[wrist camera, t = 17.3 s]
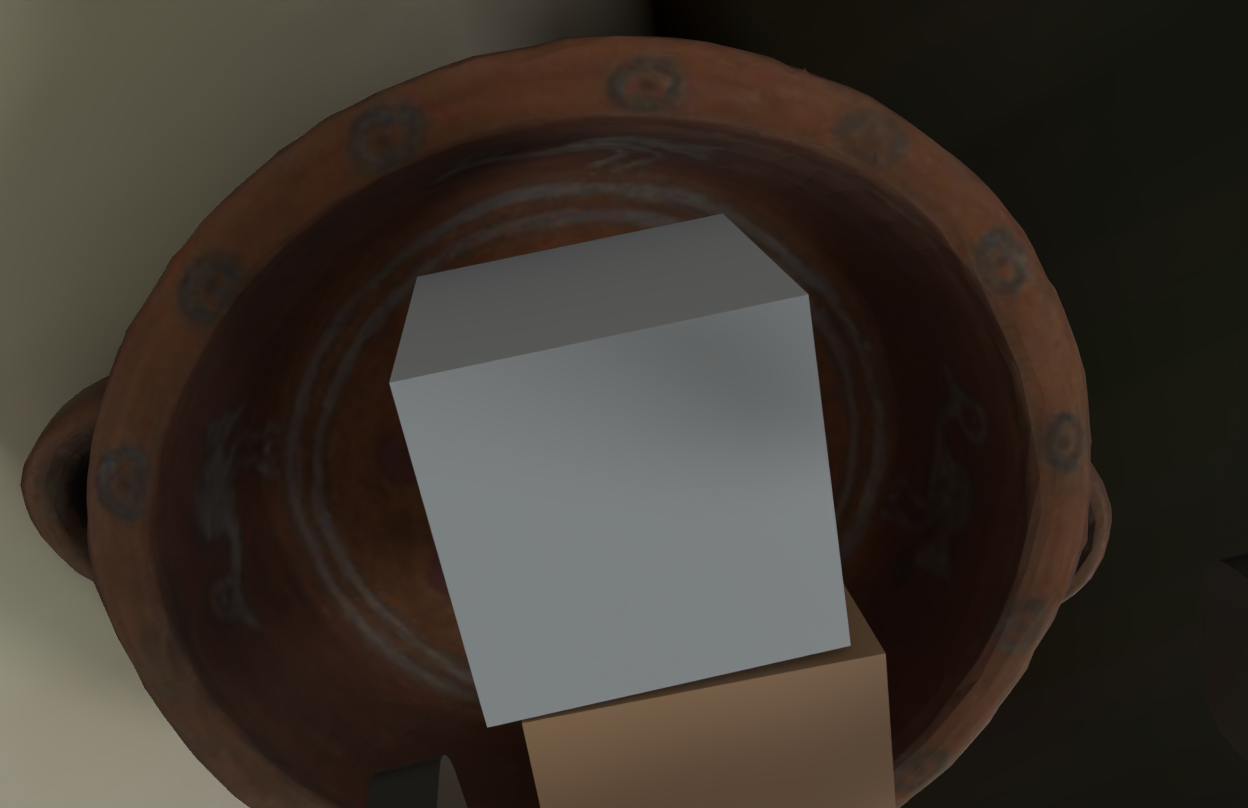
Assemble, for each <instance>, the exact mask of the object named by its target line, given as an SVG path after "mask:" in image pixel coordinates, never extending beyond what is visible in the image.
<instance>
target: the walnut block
mask: <svg viewBox="0 0 1248 808" xmlns="http://www.w3.org/2000/svg"><path fill="white" fill-rule="evenodd" d="M843 585H844V583H843ZM844 593H845V602H846V610H847V618H848V627H849V635H850V643H851V646H847V647H843V648H838V649H834V650H829V651H825V652H821V653H816V654H812V655H807V656H803V657H798V658H794V659H790V660H785V661H781V662H776V663H772V664H767V665H763V666H758V667H754V668H750V669H745V670H741V671H736V672H732V673H727V674H723V675H719V676H714V677H710V678H705V679H701V680H696V681H692V682H688V683H683V684H679V685H674V686H670V687H665V688H661V689H656V690H652V691H648V692H643V693H639V694H634V695H630V696H625V697H621V698H617V699H612V700H608V701H603V702H599V703H594V704H590V705H585V706H581V707H577V708H572V709H568V710H563V711H559V712H554V713H550V714H546V715H541V716H537V717H532V718H528V719H523V720H522V726H523V730H524V735H525V740H526V744H527V749H528V753H529V758H530V762H531V767H532V771H533V776H534V781H535V785H536V790H537V794H538V799H539V803H540V808H896V803H895V788H894V772H893V757H892V742H891V727H890V712H889V696H888V681H887V666H886V653H885V651H884V650H883V648H882V646H881V645H880V643H879V641H878V640H877V638H876V637H875V635H874V633H873V632H872V630H871V628H870V627H869V625H868V623H867V622H866V620H865V618H864V617H863V615H862V613H861V612H860V610H859V608H858V607H857V605H856V603H855V602H854V600H853V598H852V597H851V595H850V593H849V592H848V590H847V588H846V587H845V585H844Z"/></svg>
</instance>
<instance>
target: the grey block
mask: <svg viewBox="0 0 1248 808" xmlns="http://www.w3.org/2000/svg"><path fill="white" fill-rule="evenodd" d="M389 384H390V387H391V391H392V394H393V398H394V401H395V405H396V408H397V412H398V415H399V419H400V422H401V426H402V430H403V433H404V437H405V440H406V444H407V447H408V451H409V454H410V458H411V461H412V465H413V468H414V472H415V475H416V479H417V482H418V486H419V489H420V493H421V496H422V500H423V503H424V507H425V510H426V514H427V517H428V521H429V525H430V528H431V532H432V535H433V539H434V542H435V546H436V549H437V553H438V556H439V560H440V563H441V567H442V570H443V574H444V577H445V581H446V584H447V588H448V591H449V595H450V598H451V602H452V605H453V609H454V612H455V616H456V620H457V623H458V627H459V630H460V634H461V637H462V641H463V644H464V648H465V651H466V655H467V658H468V662H469V665H470V669H471V672H472V676H473V679H474V683H475V686H476V690H477V693H478V697H479V700H480V704H481V707H482V711H483V715H484V718H485V722H486V725H487V728H488V727H492V726H497V725H501V724H506V723H510V722H514V721H519V720H523V719H528V718H532V717H537V716H541V715H546V714H550V713H554V712H559V711H563V710H568V709H572V708H577V707H581V706H585V705H590V704H594V703H599V702H603V701H608V700H612V699H617V698H621V697H625V696H630V695H634V694H639V693H643V692H648V691H652V690H656V689H661V688H665V687H670V686H674V685H679V684H683V683H688V682H692V681H696V680H701V679H705V678H710V677H714V676H719V675H723V674H727V673H732V672H736V671H741V670H745V669H750V668H754V667H758V666H763V665H767V664H772V663H776V662H781V661H785V660H790V659H794V658H798V657H803V656H807V655H812V654H816V653H821V652H825V651H829V650H834V649H838V648H843V647H847V646H851V643H850V635H849V627H848V618H847V610H846V602H845V593H844V585H843V577H842V569H841V560H840V552H839V544H838V535H837V527H836V519H835V511H834V502H833V494H832V486H831V477H830V469H829V461H828V453H827V444H826V436H825V428H824V419H823V411H822V403H821V395H820V386H819V378H818V370H817V361H816V353H815V345H814V337H813V328H812V320H811V312H810V304H809V295H808V294H807V293H806V292H805V291H804V290H803V289H802V288H801V287H800V286H799V285H798V284H797V283H796V282H795V281H794V280H793V279H792V278H790V277H789V276H788V275H787V274H786V273H785V272H784V271H783V270H782V269H781V268H780V267H779V266H778V265H777V264H776V263H775V262H774V261H773V260H771V259H770V258H769V257H768V256H767V255H766V254H765V253H764V252H763V251H762V250H761V249H760V248H759V247H758V246H757V245H756V244H755V243H753V242H752V241H751V240H750V239H749V238H748V237H747V236H746V235H745V234H744V233H743V232H742V231H741V230H740V229H739V228H738V227H737V226H735V225H734V224H733V223H732V222H731V221H730V220H729V219H728V218H727V217H726V216H725V215H724V214H718V215H713V216H708V217H704V218H699V219H694V220H689V221H684V222H680V223H675V224H670V225H665V226H660V227H655V228H651V229H646V230H641V231H636V232H631V233H626V234H622V235H617V236H612V237H607V238H602V239H597V240H593V241H588V242H583V243H578V244H573V245H568V246H564V247H559V248H554V249H549V250H544V251H539V252H535V253H530V254H525V255H520V256H515V257H510V258H506V259H501V260H496V261H491V262H486V263H481V264H477V265H472V266H467V267H462V268H457V269H452V270H448V271H443V272H438V273H433V274H428V275H424V276H419V277H417V279H416V283H415V287H414V291H413V295H412V298H411V302H410V306H409V310H408V314H407V317H406V321H405V325H404V329H403V333H402V336H401V340H400V344H399V348H398V352H397V355H396V359H395V363H394V367H393V371H392V374H391V378H390V382H389Z"/></svg>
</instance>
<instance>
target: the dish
mask: <svg viewBox="0 0 1248 808" xmlns="http://www.w3.org/2000/svg"><path fill="white" fill-rule="evenodd" d="M718 214H724V215H725V216H726V217H727V218H728V219H729V220H730V221H731V222H732V223H733V224H734V225H735V226H737V227H738V228H739V229H740V230H741V231H742V232H743V233H744V234H745V235H746V236H747V237H748V238H749V239H750V240H751V241H752V242H753V243H755V244H756V245H757V246H758V247H759V248H760V249H761V250H762V251H763V252H764V253H765V254H766V255H767V256H768V257H769V258H770V259H771V260H773V261H774V262H775V263H776V264H777V265H778V266H779V267H780V268H781V269H782V270H783V271H784V272H785V273H786V274H787V275H788V276H789V277H790V278H792V279H793V280H794V281H795V282H796V283H797V284H798V285H799V286H800V287H801V288H802V289H803V290H804V291H805V292H806V293H807V294H808V295H809V304H810V312H811V320H812V328H813V337H814V345H815V353H816V361H817V370H818V378H819V386H820V395H821V403H822V411H823V419H824V428H825V436H826V444H827V453H828V461H829V469H830V477H831V486H832V494H833V502H834V511H835V519H836V527H837V535H838V544H839V552H840V560H841V569H842V577H843V583H844V585H845V587H846V588H847V590H848V592H849V593H850V595H851V597H852V598H853V600H854V602H855V603H856V605H857V607H858V608H859V610H860V612H861V613H862V615H863V617H864V618H865V620H866V622H867V623H868V625H869V627H870V628H871V630H872V632H873V633H874V635H875V637H876V638H877V640H878V641H879V643H880V645H881V646H882V648H883V650H884V651H885V653H886V666H887V681H888V696H889V712H890V727H891V742H892V757H893V772H894V788H895V803H896V808H900V807H901V806H902V805H904V804H905V803H906V802H907V801H908V800H909V799H910V798H912V797H913V796H914V795H915V794H917V793H918V792H919V791H921V790H922V789H923V788H924V787H926V786H927V785H928V784H929V783H931V782H932V781H933V780H934V779H936V778H937V777H938V776H939V775H940V774H942V773H943V772H944V771H945V770H947V769H948V768H949V767H950V766H951V765H952V764H953V763H954V762H955V761H956V760H957V758H958V757H959V756H960V755H961V754H962V753H963V752H964V750H965V749H966V748H967V747H968V746H969V745H970V744H971V743H972V742H973V740H974V739H975V738H976V737H977V736H978V735H979V734H980V732H981V731H982V730H983V729H984V728H985V726H986V725H987V724H988V723H989V722H990V720H991V719H992V717H993V716H994V714H995V713H996V711H997V709H998V708H999V706H1000V705H1001V704H1002V702H1003V701H1004V700H1005V698H1006V697H1007V696H1008V694H1009V693H1010V692H1011V690H1012V689H1013V687H1014V686H1015V685H1016V683H1017V682H1018V681H1019V679H1020V678H1021V677H1022V675H1023V674H1024V672H1025V671H1026V670H1027V668H1028V665H1029V663H1030V660H1031V658H1032V655H1033V653H1034V650H1035V649H1036V647H1037V646H1038V644H1039V643H1040V641H1041V639H1042V638H1043V636H1044V635H1045V633H1046V632H1047V630H1048V629H1049V627H1050V626H1051V624H1052V622H1053V621H1054V619H1055V617H1056V614H1057V611H1058V608H1059V606H1060V604H1061V603H1063V602H1064V601H1066V600H1067V599H1069V598H1070V597H1072V596H1073V595H1074V594H1076V593H1077V592H1078V591H1079V590H1080V589H1081V588H1082V587H1083V586H1084V585H1085V584H1086V583H1087V582H1088V581H1089V580H1090V579H1091V578H1092V576H1093V575H1094V573H1095V571H1096V569H1097V568H1098V566H1099V564H1100V562H1101V560H1102V559H1103V557H1104V553H1105V549H1106V546H1107V542H1108V539H1109V533H1110V528H1111V522H1112V515H1111V505H1110V502H1109V499H1108V495H1107V492H1106V489H1105V486H1104V483H1103V481H1102V480H1101V478H1100V476H1099V475H1098V473H1097V471H1096V470H1095V468H1094V466H1093V465H1092V463H1091V462H1090V447H1091V444H1092V441H1091V433H1090V422H1089V408H1088V395H1087V386H1086V377H1085V371H1084V368H1083V364H1082V361H1081V358H1080V354H1079V351H1078V347H1077V344H1076V341H1075V338H1074V336H1073V333H1072V330H1071V328H1070V325H1069V322H1068V319H1067V317H1066V314H1065V311H1064V309H1063V306H1062V304H1061V302H1060V299H1059V297H1058V294H1057V292H1056V290H1055V288H1054V286H1053V285H1052V284H1051V283H1050V281H1049V280H1048V278H1047V276H1046V274H1045V272H1044V270H1043V268H1042V266H1041V263H1040V261H1039V259H1038V257H1037V255H1036V253H1035V251H1034V248H1033V246H1032V245H1031V243H1030V241H1029V239H1028V237H1027V236H1026V234H1025V232H1024V230H1023V229H1022V228H1021V226H1020V225H1019V224H1018V223H1017V221H1016V220H1015V219H1014V218H1013V217H1012V215H1011V214H1010V213H1009V211H1008V210H1007V209H1006V208H1005V206H1004V205H1003V204H1002V202H1001V201H1000V200H999V198H998V197H997V196H996V195H995V194H994V193H993V192H992V191H991V190H990V189H989V187H988V186H987V185H986V184H985V183H984V182H983V181H982V180H981V179H980V178H979V177H978V176H977V175H976V174H975V173H973V172H972V171H971V170H970V169H969V168H968V167H967V166H965V165H964V164H963V163H962V162H961V161H960V160H958V159H957V158H956V157H955V156H953V155H952V154H950V153H949V152H948V151H946V150H945V149H943V148H942V147H941V146H940V145H938V144H937V143H936V142H934V141H933V140H932V139H931V138H929V137H928V136H927V135H925V134H924V133H923V132H921V131H920V130H919V129H917V128H916V127H915V126H913V125H912V124H911V123H909V122H908V121H907V120H905V119H904V118H903V117H901V116H899V115H898V114H896V113H895V112H893V111H892V110H890V109H889V108H887V107H886V106H884V105H883V104H881V103H880V102H878V101H876V100H875V99H873V98H872V97H870V96H869V95H867V94H864V93H862V92H860V91H857V90H855V89H853V88H851V87H848V86H845V85H842V84H839V83H837V82H834V81H831V80H828V79H825V78H822V77H820V76H817V75H814V74H812V73H809V72H808V71H807V70H806V69H805V68H796V67H793V66H789V65H787V64H785V63H782V62H780V61H778V60H776V59H774V58H772V57H768V56H764V55H760V54H756V53H752V52H748V51H744V50H740V49H735V48H731V47H727V46H723V45H718V44H714V43H710V42H704V41H696V40H689V39H682V38H670V37H652V36H589V37H578V38H568V39H560V40H556V41H552V42H548V43H543V44H539V45H535V46H531V47H526V48H520V49H514V50H508V51H502V52H496V53H490V54H484V55H478V56H473V57H470V58H467V59H464V60H461V61H458V62H455V63H452V64H449V65H446V66H443V67H440V68H437V69H435V70H432V71H430V72H427V73H425V74H422V75H420V76H417V77H415V78H412V79H410V80H407V81H405V82H402V83H400V84H398V85H395V86H393V87H390V88H388V89H385V90H383V91H380V92H378V93H375V94H373V95H371V96H369V97H367V98H366V99H364V100H362V101H360V102H358V103H356V104H355V105H353V106H351V107H348V108H346V109H344V110H342V111H340V112H338V113H335V114H333V115H331V116H329V117H327V118H326V119H324V120H323V121H321V122H320V123H319V124H317V125H316V126H315V127H313V128H312V129H311V130H310V131H308V132H307V133H306V134H304V135H303V136H302V137H300V138H298V139H297V140H295V141H294V142H292V143H291V144H289V145H287V146H286V147H284V148H283V149H281V150H280V151H278V152H277V153H276V154H275V155H274V156H273V157H272V158H271V159H270V160H269V161H268V162H266V163H265V164H264V165H263V166H262V167H261V168H259V169H258V170H257V171H256V172H255V173H254V174H252V175H251V176H250V177H249V178H248V179H246V180H245V181H244V182H243V183H242V184H241V185H239V186H238V187H237V188H236V189H235V190H234V191H233V192H232V193H231V194H230V195H229V196H228V197H227V198H225V199H224V200H223V201H222V202H221V203H220V204H219V205H218V206H217V207H216V208H215V209H214V210H213V211H212V212H211V213H210V214H209V215H208V216H207V217H206V218H205V219H204V221H203V222H202V223H201V224H200V225H199V226H198V228H197V229H196V230H195V231H194V233H193V234H192V235H191V237H190V238H189V239H188V240H187V242H186V243H185V244H184V246H183V247H182V248H181V249H180V251H178V252H177V253H176V254H175V255H174V256H173V257H172V259H171V261H170V262H169V264H168V266H167V267H166V269H165V271H164V272H163V274H162V276H161V277H160V279H159V281H158V283H157V284H156V286H155V288H154V289H153V291H152V292H151V294H150V295H149V297H148V299H147V300H146V302H145V303H144V305H143V306H142V308H141V309H140V311H139V312H138V314H137V315H136V317H135V318H134V320H133V321H132V323H131V325H130V326H129V328H128V329H127V331H126V334H125V337H124V340H123V342H122V344H121V346H120V348H119V350H118V352H117V355H116V358H115V361H114V364H113V367H112V370H111V373H110V376H107V377H105V378H103V379H101V380H100V381H98V382H96V383H94V384H93V385H91V386H89V387H87V388H85V389H84V390H82V391H81V392H80V393H78V394H77V395H76V396H75V397H73V398H72V399H71V400H70V401H68V402H67V403H66V404H65V405H63V406H62V407H61V409H60V410H59V411H58V412H57V413H56V414H55V416H54V417H53V418H52V419H51V421H50V422H49V423H48V425H47V426H46V428H45V429H44V431H43V432H42V433H41V435H40V437H39V438H38V440H37V442H36V444H35V446H34V447H33V449H32V451H31V453H30V454H29V456H28V458H27V460H26V462H25V464H24V467H23V473H22V479H21V484H20V485H21V489H22V493H23V497H24V501H25V505H26V508H27V510H28V513H29V516H30V518H31V520H32V522H33V523H34V525H35V527H36V528H37V530H38V532H39V533H40V535H41V536H42V537H43V539H44V540H45V541H46V542H47V543H48V544H49V545H50V546H51V547H52V549H53V550H54V551H55V552H56V553H57V554H58V555H59V556H60V557H61V558H62V559H63V560H64V561H66V562H67V563H68V564H69V565H70V566H71V567H72V568H73V569H74V570H75V571H76V572H78V573H79V574H81V575H82V576H84V577H86V578H88V579H90V580H92V581H93V582H94V584H95V586H96V589H97V591H98V593H99V596H100V598H101V600H102V603H103V605H104V607H105V609H106V611H107V614H108V616H109V618H110V620H111V623H112V625H113V628H114V630H115V632H116V635H117V637H118V639H119V641H120V642H121V644H122V646H123V648H124V649H125V651H126V653H127V655H128V656H129V658H130V660H131V662H132V663H133V665H134V667H135V669H136V671H137V673H138V675H139V677H140V679H141V681H142V683H143V685H144V687H145V689H146V690H147V692H148V693H149V695H150V696H151V698H152V699H153V701H154V702H155V704H156V705H157V707H158V708H159V710H160V711H161V713H162V714H163V715H164V717H165V718H166V719H167V721H168V722H169V723H170V725H171V726H172V727H173V729H174V730H175V731H176V733H177V734H178V735H179V737H180V738H181V739H182V741H183V742H184V743H185V745H186V746H187V747H188V748H189V750H190V751H191V752H192V753H193V755H194V756H195V757H196V758H197V759H198V760H199V761H200V762H201V763H202V764H203V765H204V766H205V767H206V768H207V769H208V770H209V771H210V772H211V773H212V774H213V775H214V776H215V777H216V778H217V779H218V780H219V781H220V782H221V783H222V784H223V785H224V786H225V787H226V788H227V789H228V790H229V791H230V792H231V793H232V794H233V795H234V796H235V797H236V798H238V799H239V800H240V801H242V802H243V803H244V804H246V805H247V806H249V807H250V808H366V804H367V798H368V793H369V787H370V782H371V778H372V776H373V775H374V773H377V772H380V771H384V770H388V769H392V768H396V767H400V766H404V765H408V764H412V763H416V762H420V761H423V760H427V759H431V758H435V757H439V756H443V755H446V756H447V757H448V758H449V759H450V761H451V763H452V765H453V767H454V770H455V772H456V775H457V778H458V781H459V784H460V787H461V790H462V793H463V796H464V799H465V802H466V805H467V808H540V803H539V799H538V794H537V790H536V785H535V781H534V776H533V771H532V767H531V762H530V758H529V753H528V749H527V744H526V740H525V735H524V730H523V726H522V720H519V721H514V722H510V723H506V724H501V725H497V726H492V727H488V728H487V725H486V722H485V718H484V715H483V711H482V707H481V704H480V700H479V697H478V693H477V690H476V686H475V683H474V679H473V676H472V672H471V669H470V665H469V662H468V658H467V655H466V651H465V648H464V644H463V641H462V637H461V634H460V630H459V627H458V623H457V620H456V616H455V612H454V609H453V605H452V602H451V598H450V595H449V591H448V588H447V584H446V581H445V577H444V574H443V570H442V567H441V563H440V560H439V556H438V553H437V549H436V546H435V542H434V539H433V535H432V532H431V528H430V525H429V521H428V517H427V514H426V510H425V507H424V503H423V500H422V496H421V493H420V489H419V486H418V482H417V479H416V475H415V472H414V468H413V465H412V461H411V458H410V454H409V451H408V447H407V444H406V440H405V437H404V433H403V430H402V426H401V422H400V419H399V415H398V412H397V408H396V405H395V401H394V398H393V394H392V391H391V387H390V384H389V382H390V378H391V374H392V371H393V367H394V363H395V359H396V355H397V352H398V348H399V344H400V340H401V336H402V333H403V329H404V325H405V321H406V317H407V314H408V310H409V306H410V302H411V298H412V295H413V291H414V287H415V283H416V279H417V277H419V276H424V275H428V274H433V273H438V272H443V271H448V270H452V269H457V268H462V267H467V266H472V265H477V264H481V263H486V262H491V261H496V260H501V259H506V258H510V257H515V256H520V255H525V254H530V253H535V252H539V251H544V250H549V249H554V248H559V247H564V246H568V245H573V244H578V243H583V242H588V241H593V240H597V239H602V238H607V237H612V236H617V235H622V234H626V233H631V232H636V231H641V230H646V229H651V228H655V227H660V226H665V225H670V224H675V223H680V222H684V221H689V220H694V219H699V218H704V217H708V216H713V215H718Z"/></svg>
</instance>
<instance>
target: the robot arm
mask: <svg viewBox="0 0 1248 808" xmlns="http://www.w3.org/2000/svg"><path fill="white" fill-rule="evenodd" d="M1201 596H1202V629H1203V662H1204V686H1205V693H1206V698H1207V701H1208V705H1209V707H1210V710H1211V713H1212V715H1213V717H1214V719H1215V721H1216V723H1217V725H1218V727H1219V729H1220V730H1221V732H1222V733H1223V735H1224V737H1225V738H1226V739H1227V741H1228V742H1229V743H1230V744H1231V745H1232V746H1233V748H1234V749H1235V750H1236V751H1237V752H1238V753H1239V754H1240V755H1241V756H1242V757H1244V758H1245V759H1246V760H1247V761H1248V553H1245V554H1241V555H1237V556H1233V557H1229V558H1225V559H1221V560H1217V561H1213V562H1210V563H1209V564H1207V566H1206V567H1205V568H1204V571H1203V573H1202V579H1201ZM366 808H467V805H466V802H465V799H464V796H463V793H462V790H461V787H460V784H459V781H458V778H457V775H456V772H455V770H454V767H453V765H452V763H451V761H450V759H449V758H448V757H447V756H446V755H443V756H439V757H435V758H431V759H427V760H423V761H420V762H416V763H412V764H408V765H404V766H400V767H396V768H392V769H388V770H384V771H380V772H377V773H374V775H373V776H372V778H371V782H370V787H369V793H368V798H367V804H366Z"/></svg>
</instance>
